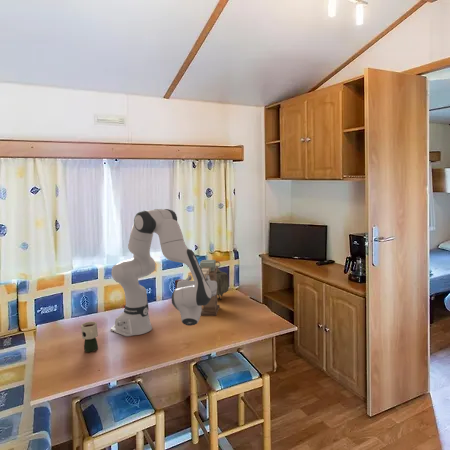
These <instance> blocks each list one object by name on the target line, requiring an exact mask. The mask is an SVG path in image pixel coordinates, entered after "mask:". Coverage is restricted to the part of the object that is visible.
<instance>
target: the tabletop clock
mask: <svg viewBox="0 0 450 450" xmlns="http://www.w3.org/2000/svg"><path fill="white" fill-rule="evenodd" d="M216 264H219V265H217V266H218V270H217V272H216V281H217V300H221V299H222V298H221V297H222V296H223V295H224V294H226V293H228V291H229V287H230V282H229V275H228V273H227V272H225V271H222V270H220V266H221V263H220V261H216Z"/></svg>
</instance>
